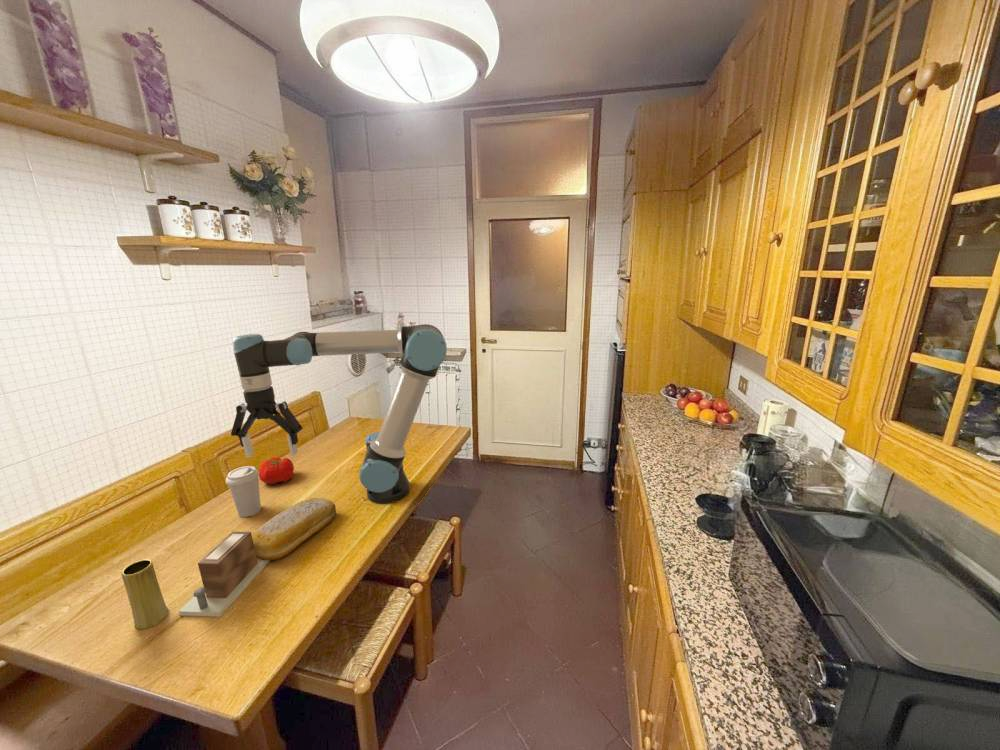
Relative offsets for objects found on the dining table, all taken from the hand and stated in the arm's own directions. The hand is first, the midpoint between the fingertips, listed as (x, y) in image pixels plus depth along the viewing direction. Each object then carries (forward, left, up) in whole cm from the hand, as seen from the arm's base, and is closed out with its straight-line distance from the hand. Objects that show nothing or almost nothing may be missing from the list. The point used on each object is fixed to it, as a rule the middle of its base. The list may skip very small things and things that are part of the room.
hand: (272, 455), depth 121 cm
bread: (-6, +4, -25) cm, 26 cm away
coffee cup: (+17, -7, -25) cm, 31 cm away
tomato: (+20, -28, -25) cm, 43 cm away
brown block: (-1, +24, -24) cm, 34 cm away
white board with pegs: (0, +25, -25) cm, 35 cm away
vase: (+11, +36, -25) cm, 45 cm away
